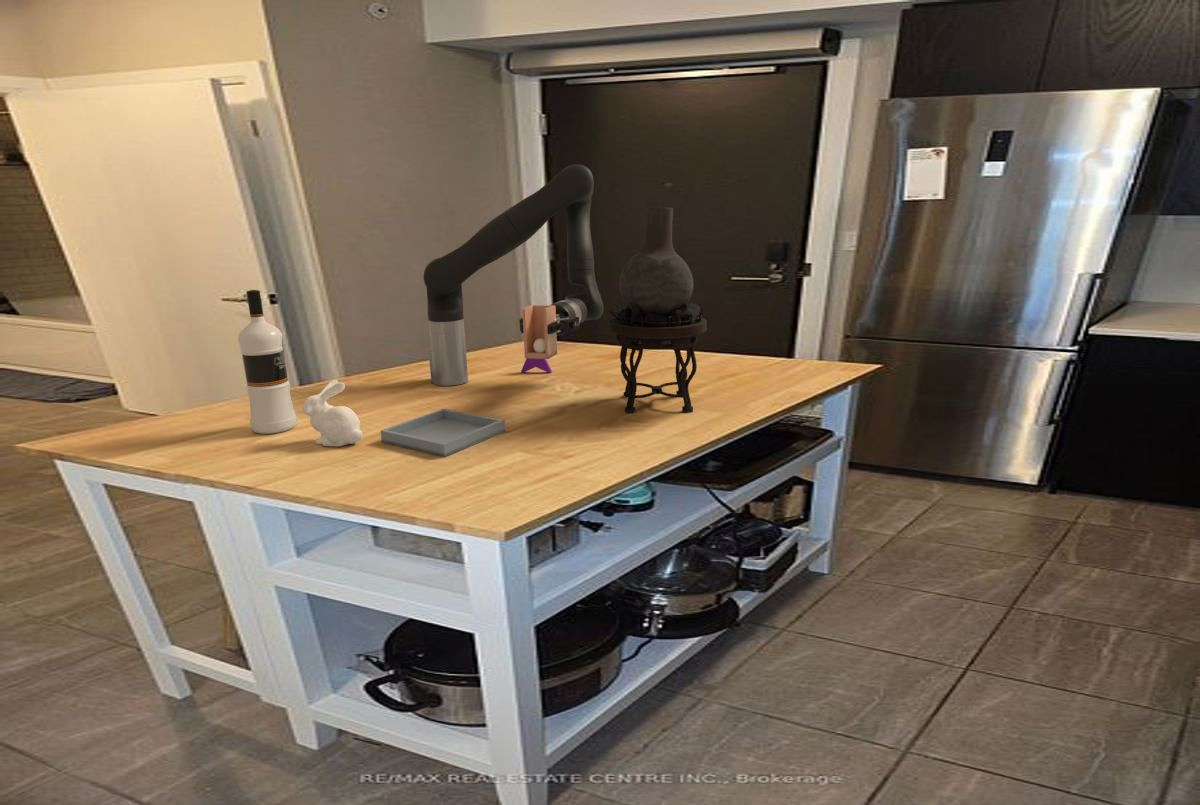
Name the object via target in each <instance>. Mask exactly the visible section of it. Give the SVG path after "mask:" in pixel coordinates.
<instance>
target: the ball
mask: <svg viewBox="0 0 1200 805" xmlns="http://www.w3.org/2000/svg"><path fill="white" fill-rule="evenodd" d="M533 347H534V350H535V351H536V352H537V353H545V352H546V351H545V339H543V338H540V339H537V340H536V341H535V342H534V345H533Z"/></svg>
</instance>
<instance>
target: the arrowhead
mask: <svg viewBox="0 0 1200 805" xmlns="http://www.w3.org/2000/svg"><path fill="white" fill-rule="evenodd" d="M547 360H548V359H534V358H525V361H524V363H523V366H522V369H521V371H520V374H523V373H526V372H528V371H530V370H532V369H535V368H537V369H539V370H541V371H544V372H546V373H548V374H552V373H553V370H552V368H551V366H550V364H549V362H548V361H547Z"/></svg>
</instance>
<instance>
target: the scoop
mask: <svg viewBox="0 0 1200 805" xmlns="http://www.w3.org/2000/svg"><path fill="white" fill-rule="evenodd" d="M522 317H523V332H524V333H523V346H524V347H523V348H524V350H523V351H524V359H526V358H534V359H546V360H550V359H551V358H553V357H554V356H556V355H558V337H557V333H556V332H555V333H553V334H548V328H547V326H548V324H550V323H552V322H555V320H556V307H555V306H554V305H551V304H548V305H547V304H546V305H545V304H532V305H531V304H530V305H528V306H526V307H523V308H522ZM540 338H543V339H545V351H546V352H545V353H537V352H536V351H535V350H534V347H533V345H534V342H535V341H536V340H537V339H540Z"/></svg>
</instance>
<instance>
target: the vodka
mask: <svg viewBox="0 0 1200 805" xmlns="http://www.w3.org/2000/svg"><path fill="white" fill-rule="evenodd" d="M245 293H246V299H247V305H248V310H249V317H250V323H248V324H247V325H246V326H245V327H244V328H243V329H241V330H240V331H239V333H238V336H237V341H238V343H239V348H240V354H241V355H242V356H241V358H242V363H243V368H244V369H243V370H244V376H245V379H246V381H245V382H246V390H247V393H248V400H249V406H250V407H249V408H250V420H249V425H250V429H251V431H253V432H254V433H256V434H260V435H261V434H262V435H273V434H274V435H275V434H280V433H284V432H288V431H290V430H292V429H294V427H296V426H297V425H298V415H297V413H296V412H295V408H294V406H293V402H292V397H291V391H290V389H291V388H290V383H291V382H290V381H289V377H288V371H287V362H286V356H285V351H284V350H285V349H284V344H283V333H282V331H281V330H280V329H279V328H278V327H277V326H274V325H273V324H271V323H269V322H267V321H266V319H265V315H264V308H263V303H262V302H263V301H262V297H261V291H260V290H259V289H249V290H247V291H246V292H245Z"/></svg>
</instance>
